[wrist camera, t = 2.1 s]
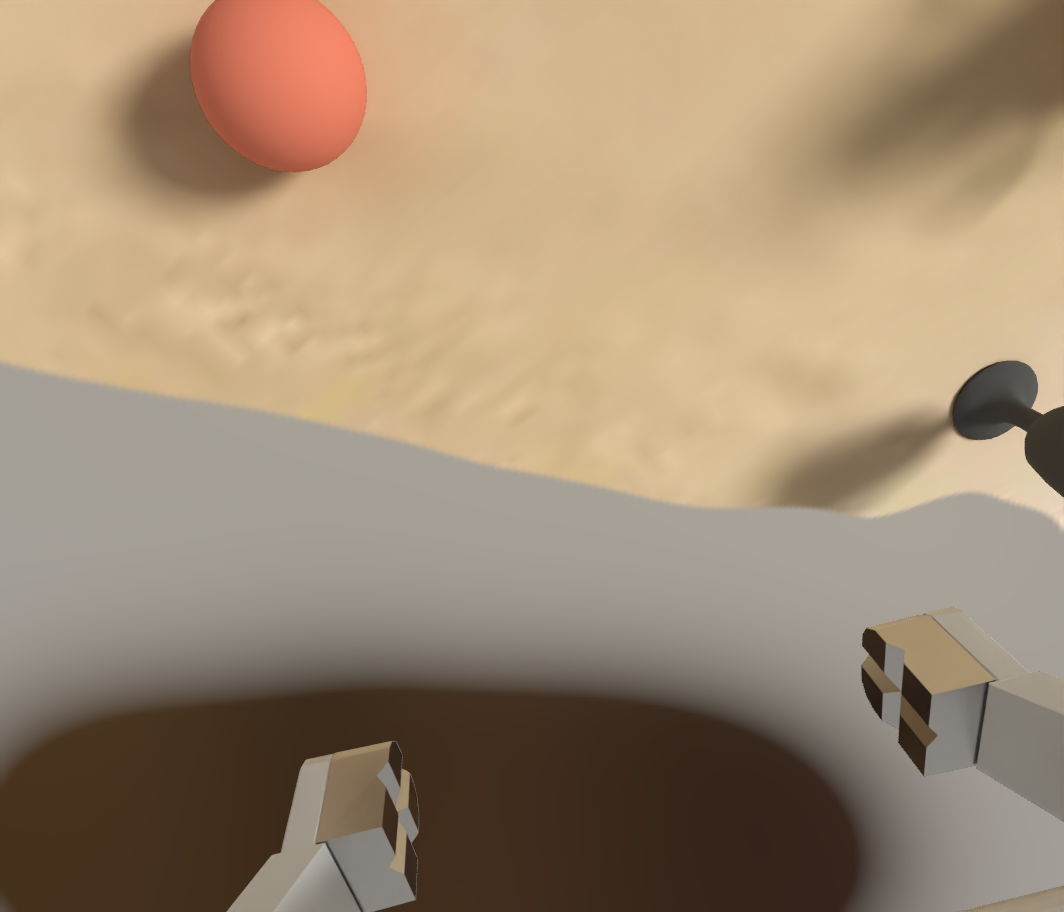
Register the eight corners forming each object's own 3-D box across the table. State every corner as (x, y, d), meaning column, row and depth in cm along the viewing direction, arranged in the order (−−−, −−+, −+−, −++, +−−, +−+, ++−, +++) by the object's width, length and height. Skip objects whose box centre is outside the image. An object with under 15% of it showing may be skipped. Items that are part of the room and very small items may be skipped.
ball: (192, 10, 26) (129, -11, 20) (347, -20, 26) (324, -49, 20) (252, 177, 28) (210, 196, 23) (390, 148, 29) (380, 161, 23)
